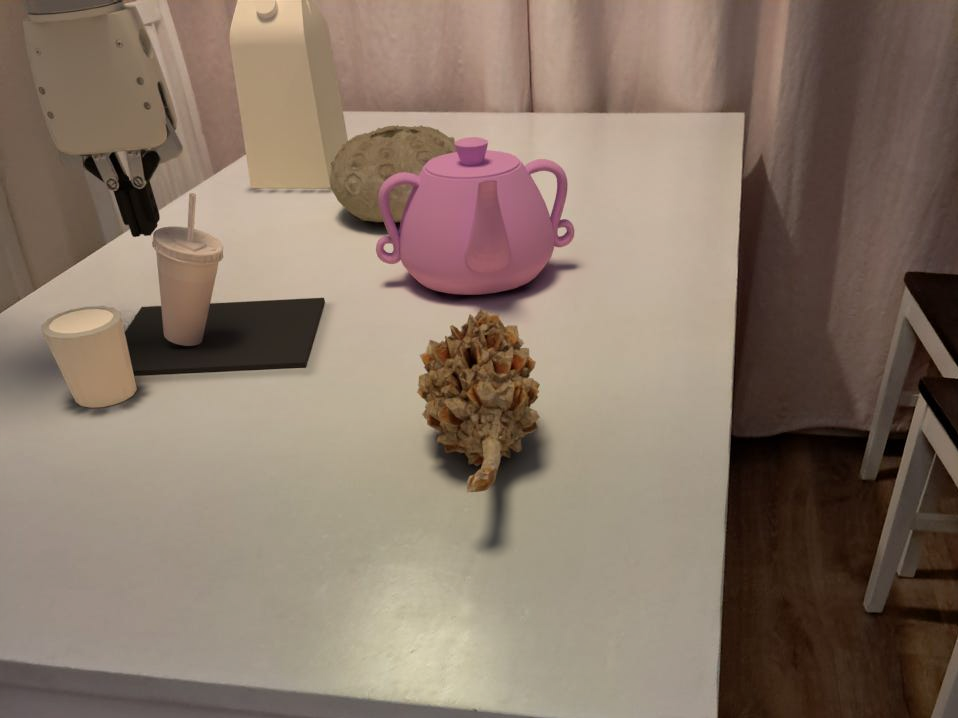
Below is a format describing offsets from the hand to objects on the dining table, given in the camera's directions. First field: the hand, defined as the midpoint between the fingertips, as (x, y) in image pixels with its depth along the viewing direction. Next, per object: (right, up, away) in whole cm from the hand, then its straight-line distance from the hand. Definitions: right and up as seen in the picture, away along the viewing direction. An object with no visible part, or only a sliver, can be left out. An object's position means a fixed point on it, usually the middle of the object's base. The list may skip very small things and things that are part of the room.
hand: (145, 231), depth 85 cm
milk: (+5, +31, +51) cm, 60 cm away
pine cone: (+32, -25, -13) cm, 42 cm away
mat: (+4, -7, +9) cm, 12 cm away
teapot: (+31, +1, +17) cm, 35 cm away
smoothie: (+1, -8, +7) cm, 10 cm away
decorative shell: (+21, +18, +36) cm, 46 cm away
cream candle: (-4, -15, +1) cm, 16 cm away
